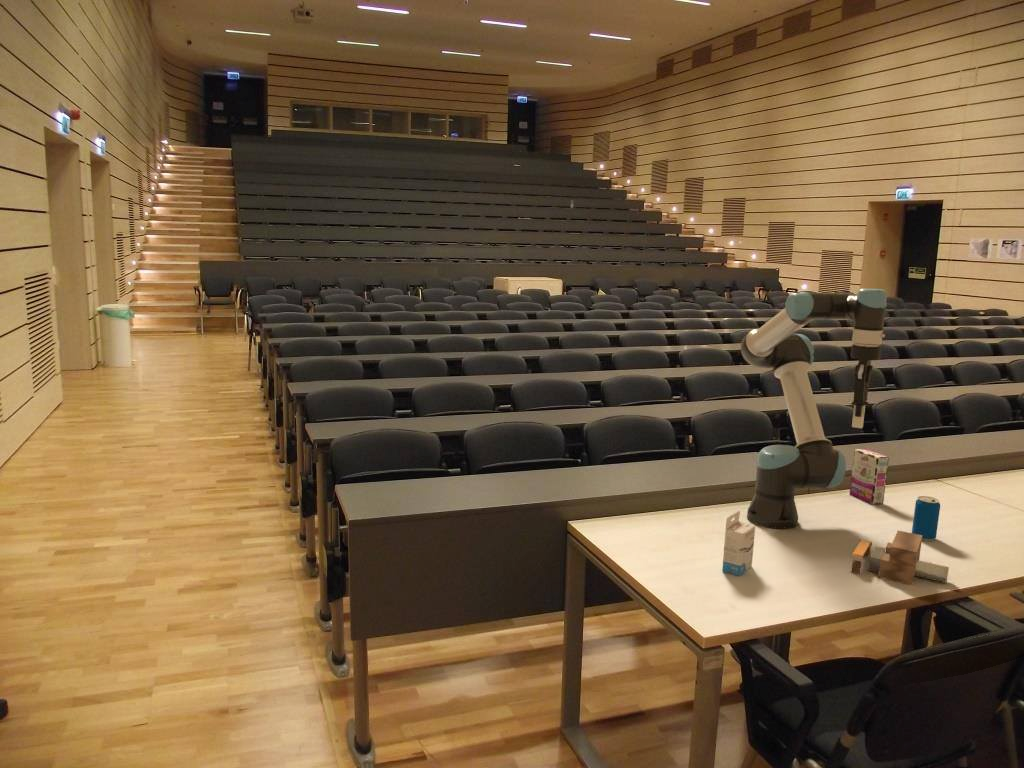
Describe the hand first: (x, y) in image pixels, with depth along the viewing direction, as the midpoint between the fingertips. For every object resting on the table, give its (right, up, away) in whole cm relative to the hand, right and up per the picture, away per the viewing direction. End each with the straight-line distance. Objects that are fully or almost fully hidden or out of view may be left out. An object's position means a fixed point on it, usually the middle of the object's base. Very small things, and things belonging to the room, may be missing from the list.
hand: (857, 427), depth 220 cm
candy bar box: (+23, -27, +45) cm, 58 cm away
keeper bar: (-3, -33, -9) cm, 34 cm away
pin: (+8, -38, -15) cm, 42 cm away
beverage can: (+25, -34, +11) cm, 43 cm away
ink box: (-38, -37, -14) cm, 55 cm away
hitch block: (+2, -37, -12) cm, 39 cm away
